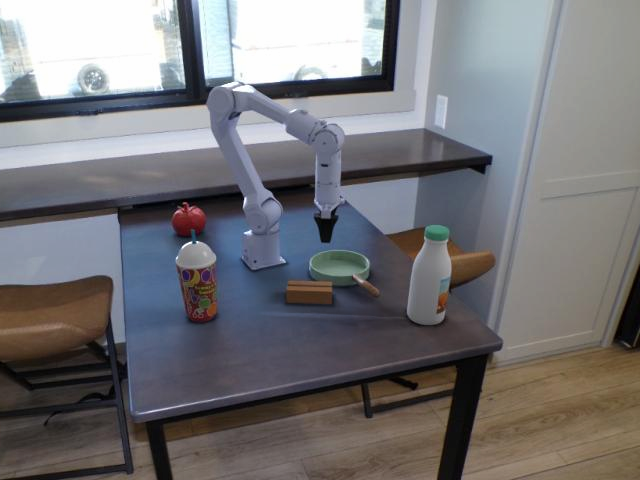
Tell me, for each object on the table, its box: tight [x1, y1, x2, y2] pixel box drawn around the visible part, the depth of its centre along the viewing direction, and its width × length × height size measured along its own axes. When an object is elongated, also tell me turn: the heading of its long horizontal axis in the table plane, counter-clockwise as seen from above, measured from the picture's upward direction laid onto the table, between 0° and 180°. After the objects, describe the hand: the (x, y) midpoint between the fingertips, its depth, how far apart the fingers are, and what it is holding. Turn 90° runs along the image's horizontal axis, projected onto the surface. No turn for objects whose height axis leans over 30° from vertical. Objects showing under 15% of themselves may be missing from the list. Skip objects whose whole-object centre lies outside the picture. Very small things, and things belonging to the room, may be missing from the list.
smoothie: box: [174, 229, 218, 323], centre depth 108 cm, size 8×8×20 cm
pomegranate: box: [171, 202, 207, 237], centre depth 152 cm, size 10×10×9 cm
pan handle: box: [352, 274, 381, 299], centre depth 118 cm, size 10×2×2 cm, turn 23°
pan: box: [308, 249, 371, 287], centre depth 128 cm, size 15×15×3 cm
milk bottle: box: [406, 224, 452, 326], centre depth 105 cm, size 8×8×20 cm
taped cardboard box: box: [285, 280, 333, 305], centre depth 117 cm, size 10×5×4 cm, turn 83°
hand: (326, 235), depth 125 cm, fingers open, 7 cm apart
